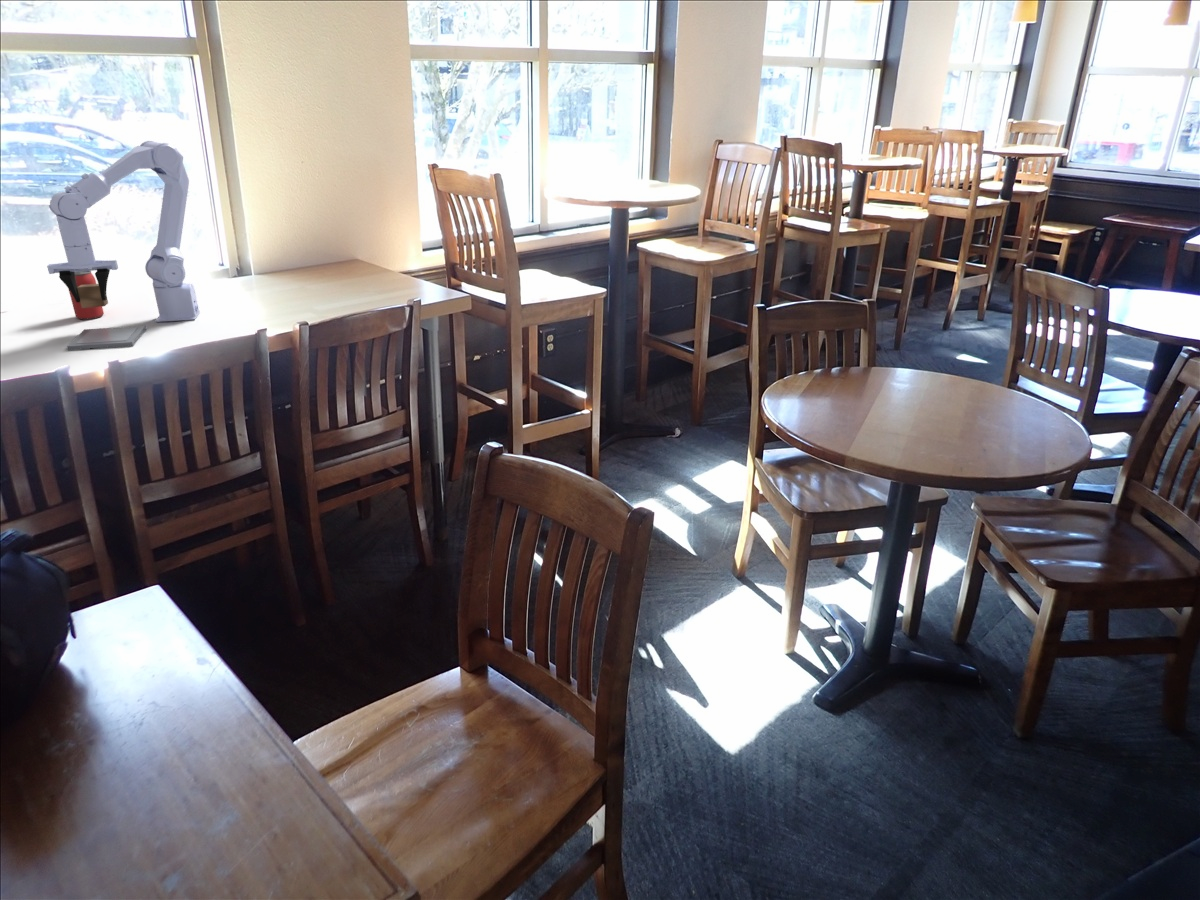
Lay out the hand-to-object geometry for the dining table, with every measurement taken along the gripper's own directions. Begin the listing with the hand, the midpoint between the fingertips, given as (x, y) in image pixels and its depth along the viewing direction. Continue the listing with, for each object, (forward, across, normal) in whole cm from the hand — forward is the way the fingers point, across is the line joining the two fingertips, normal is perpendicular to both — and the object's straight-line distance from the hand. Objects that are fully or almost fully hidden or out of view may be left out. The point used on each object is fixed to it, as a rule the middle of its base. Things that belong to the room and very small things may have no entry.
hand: (91, 300), depth 206 cm
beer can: (+9, +5, -18) cm, 20 cm away
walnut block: (+2, 0, -2) cm, 3 cm away
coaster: (+8, -3, +6) cm, 11 cm away
